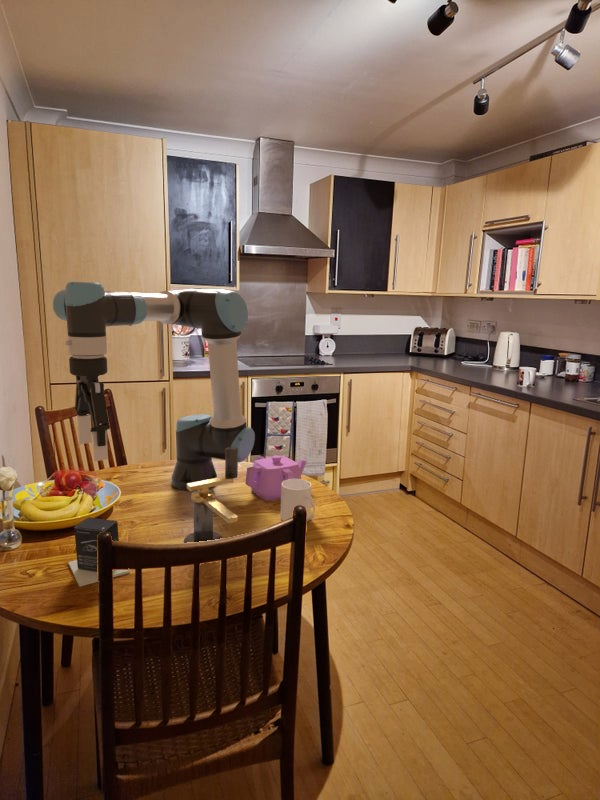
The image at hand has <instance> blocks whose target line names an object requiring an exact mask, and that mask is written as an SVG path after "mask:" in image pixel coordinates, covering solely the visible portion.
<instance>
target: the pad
mask: <svg viewBox="0 0 600 800" xmlns="http://www.w3.org/2000/svg"><path fill="white" fill-rule="evenodd" d="M68 567H69V568H70V571H71V572H72V574H73V576H74V579H75V581H76V583H77V585H78V587H79V588H81V587H83V586H88V585H91V584H94V583H98V582H99V581H98V575H97V571H90V570H84V569H78V566H77V559H75V560H71V561H68ZM130 573H131V570H130V569H129V570H114V571H113V578H115V577H119V576H123V575H126V574H130Z"/></svg>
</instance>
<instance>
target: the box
mask: <svg viewBox="0 0 600 800" xmlns="http://www.w3.org/2000/svg"><path fill="white" fill-rule="evenodd" d="M118 525H119V524H118V520H112V519H104V518H96V517H86V518H85V519H83V520H82V521H80V522H79V523H78V524H76V525H75V526H74V530H73V531H74V542H75V549H76V550H75V551H76V554H75V555H76V560H77V566H78V569H84V570H90V571H97V535H98V534H99V533H100V532H110V533H111V536H112V540H113V541H119V542H120V539H119V526H118Z"/></svg>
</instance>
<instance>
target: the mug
mask: <svg viewBox="0 0 600 800" xmlns="http://www.w3.org/2000/svg"><path fill="white" fill-rule="evenodd" d="M297 505H302V506H305V507H306V508H307V522H308V521H311V520H312V519H313V518H314V516H315V513H316V512H315V510H316V505H315V501H314V499H313V497H312V483H311V482H310V481H308V480H306V479H303V478H301V479H288V480H285V481H283V482H282V486H281V499H280V519H281V520H282V521H283V520H285V519H288V518H290V517H291V516H292V513H293V508H294V507H295V506H297ZM311 506H312V514H311Z"/></svg>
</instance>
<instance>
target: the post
mask: <svg viewBox="0 0 600 800" xmlns="http://www.w3.org/2000/svg"><path fill="white" fill-rule="evenodd" d="M192 502H193V501H192ZM192 504H193V532H192V533H189V534H187V536H185V537H184V540H183V544H184V543H187V542H199V541H207V540H215V539H220V538H223V536H222V534H220V533H218V532H216V531H214V511H213V510H211V509H210V508H209V507H208V506H207V505H205V504H204V503H196V502H193V503H192ZM223 539H224V538H223Z"/></svg>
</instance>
